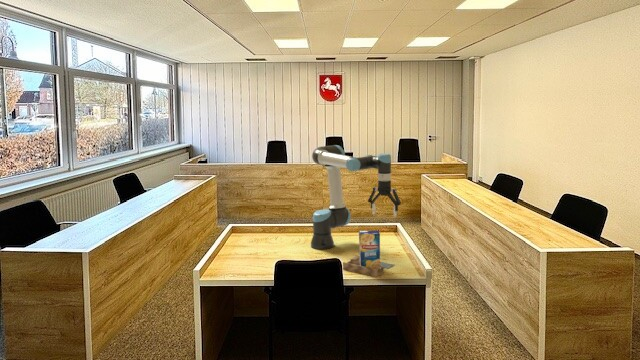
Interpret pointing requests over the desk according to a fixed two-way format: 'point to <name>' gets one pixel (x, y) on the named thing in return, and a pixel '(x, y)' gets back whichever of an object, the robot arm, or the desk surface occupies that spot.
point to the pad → (386, 265)
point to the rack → (362, 269)
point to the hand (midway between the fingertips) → (384, 215)
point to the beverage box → (369, 249)
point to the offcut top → (354, 260)
